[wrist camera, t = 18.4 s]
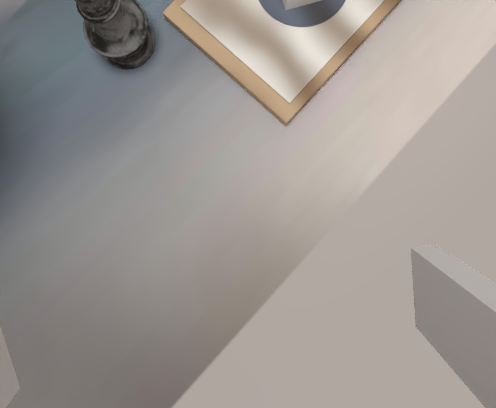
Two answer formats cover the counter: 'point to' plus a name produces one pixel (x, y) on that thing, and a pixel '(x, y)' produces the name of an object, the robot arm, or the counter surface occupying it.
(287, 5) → the dome-capped white pillar
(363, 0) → the picture frame
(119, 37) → the dark chess piece
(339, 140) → the counter surface
